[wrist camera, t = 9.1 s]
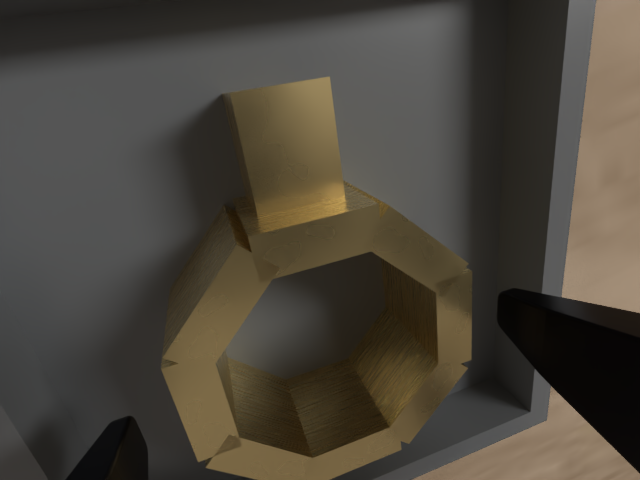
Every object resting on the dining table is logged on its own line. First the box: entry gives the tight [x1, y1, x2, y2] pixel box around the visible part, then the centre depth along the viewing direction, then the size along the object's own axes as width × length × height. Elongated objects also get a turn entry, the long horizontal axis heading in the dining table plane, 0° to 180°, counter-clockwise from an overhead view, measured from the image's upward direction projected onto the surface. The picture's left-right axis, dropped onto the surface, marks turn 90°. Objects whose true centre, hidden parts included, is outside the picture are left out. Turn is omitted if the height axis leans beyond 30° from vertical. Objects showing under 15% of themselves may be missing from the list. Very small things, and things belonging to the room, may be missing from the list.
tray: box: [0, 0, 596, 480], centre depth 11 cm, size 16×16×2 cm
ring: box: [161, 77, 472, 480], centre depth 10 cm, size 10×7×3 cm
